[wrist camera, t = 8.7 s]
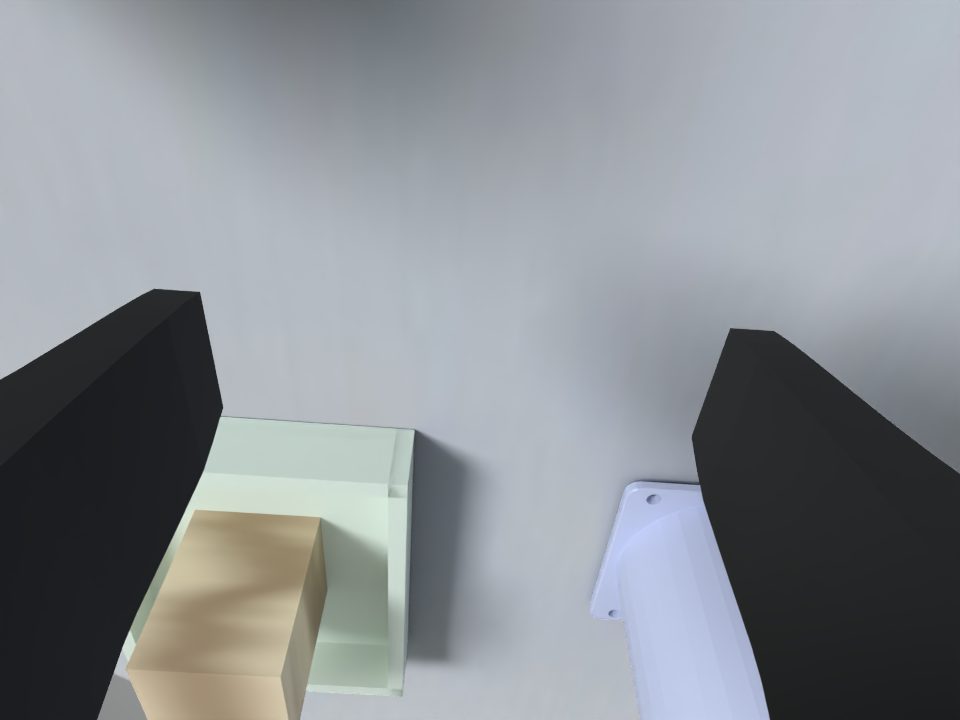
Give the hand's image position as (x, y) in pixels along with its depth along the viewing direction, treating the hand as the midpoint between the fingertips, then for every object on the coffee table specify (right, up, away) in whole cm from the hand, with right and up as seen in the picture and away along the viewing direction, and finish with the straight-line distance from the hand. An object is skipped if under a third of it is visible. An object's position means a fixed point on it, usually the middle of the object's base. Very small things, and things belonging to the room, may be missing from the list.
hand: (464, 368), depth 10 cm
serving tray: (-8, -7, +17) cm, 20 cm away
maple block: (-8, -7, +17) cm, 20 cm away
